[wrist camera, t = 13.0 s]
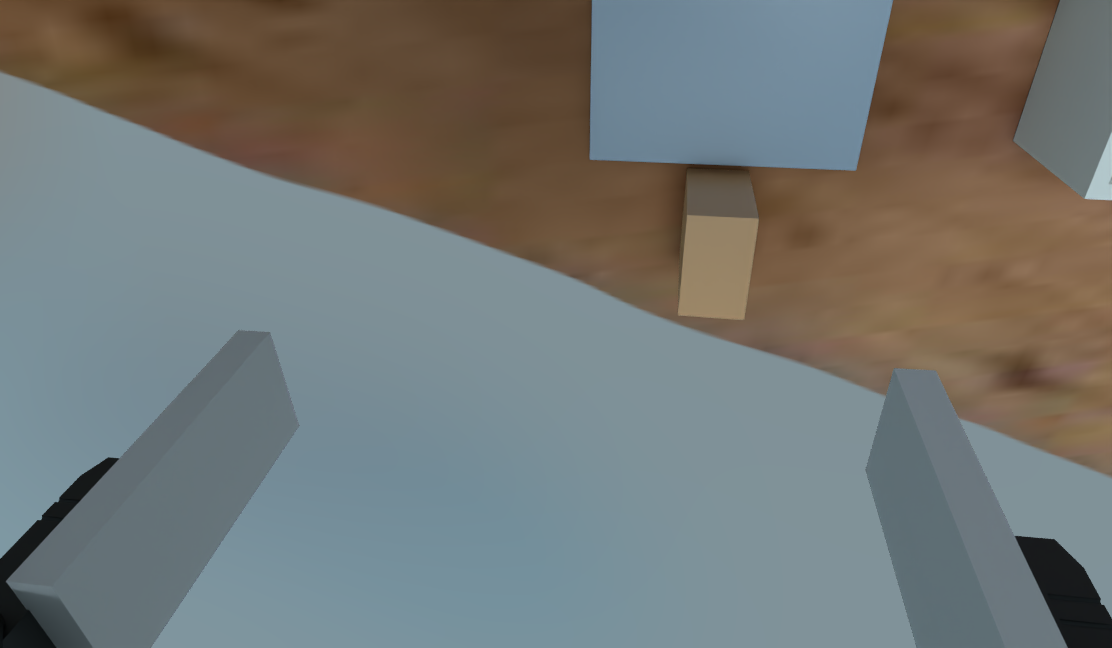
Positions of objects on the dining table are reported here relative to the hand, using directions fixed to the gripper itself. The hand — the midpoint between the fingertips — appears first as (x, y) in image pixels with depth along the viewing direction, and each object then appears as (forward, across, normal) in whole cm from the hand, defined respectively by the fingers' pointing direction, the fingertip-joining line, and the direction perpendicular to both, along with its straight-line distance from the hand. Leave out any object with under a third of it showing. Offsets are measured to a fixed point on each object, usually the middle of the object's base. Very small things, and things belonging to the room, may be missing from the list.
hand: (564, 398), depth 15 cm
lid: (+23, +4, +2) cm, 23 cm away
